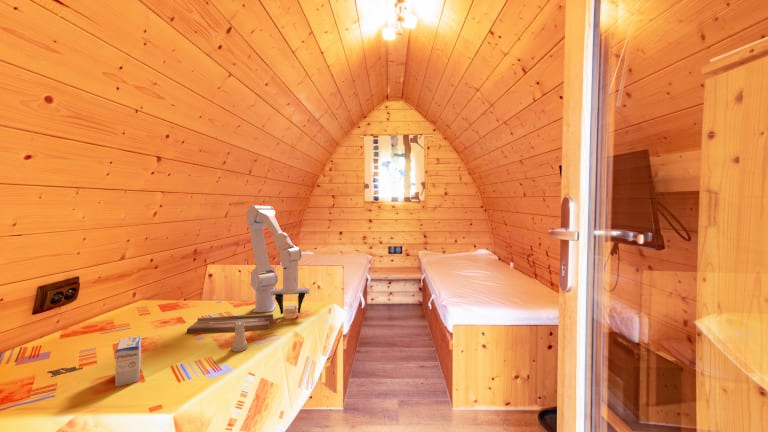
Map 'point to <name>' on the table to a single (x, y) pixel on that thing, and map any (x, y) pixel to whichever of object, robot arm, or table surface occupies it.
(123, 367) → the medicine box
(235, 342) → the rook chess piece
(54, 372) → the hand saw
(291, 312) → the block
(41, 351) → the table surface
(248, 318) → the walnut board
